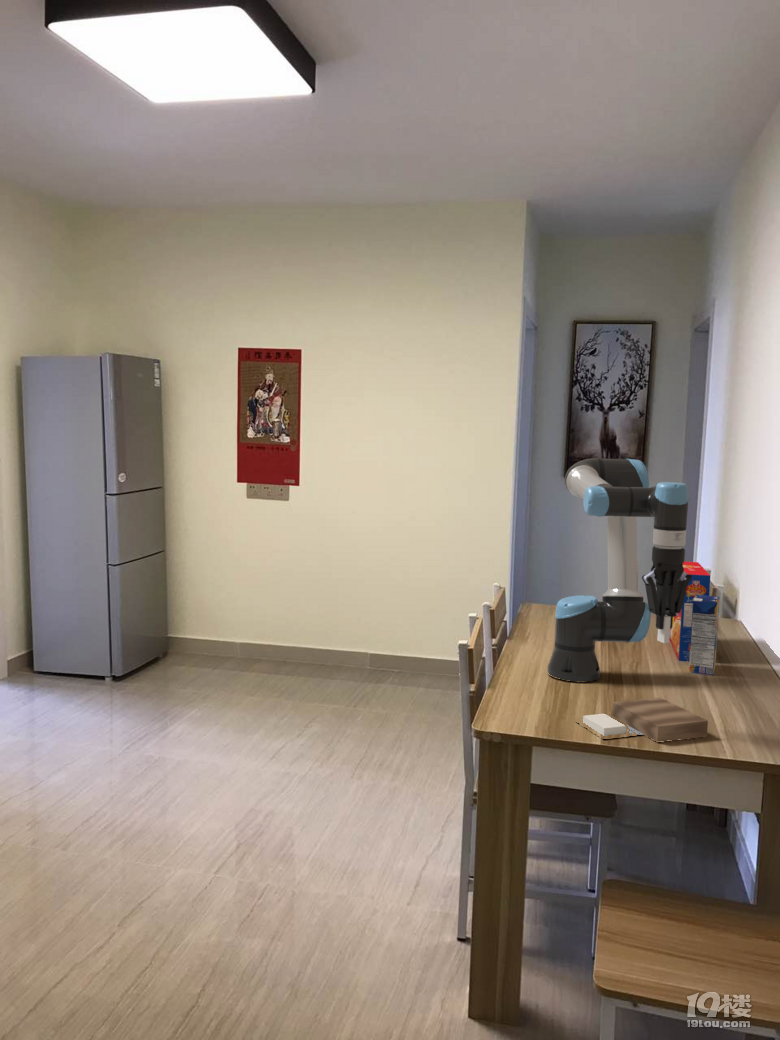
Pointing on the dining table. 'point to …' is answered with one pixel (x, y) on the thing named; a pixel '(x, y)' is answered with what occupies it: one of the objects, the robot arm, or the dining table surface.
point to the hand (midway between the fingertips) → (663, 641)
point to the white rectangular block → (604, 724)
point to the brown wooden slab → (660, 719)
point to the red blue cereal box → (688, 610)
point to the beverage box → (704, 634)
